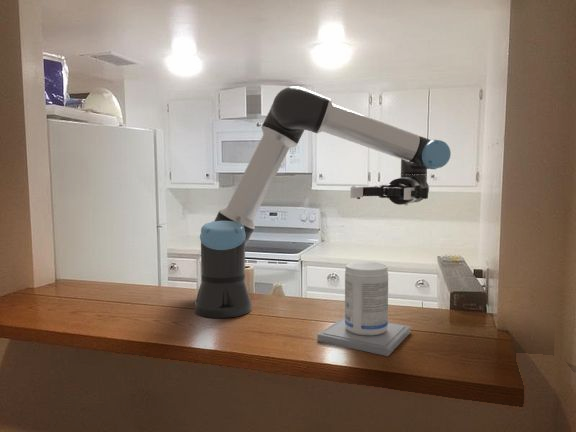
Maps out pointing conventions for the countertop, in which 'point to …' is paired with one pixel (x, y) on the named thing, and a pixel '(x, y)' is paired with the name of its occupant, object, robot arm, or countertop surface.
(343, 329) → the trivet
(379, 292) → the supplement tub
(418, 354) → the countertop surface
